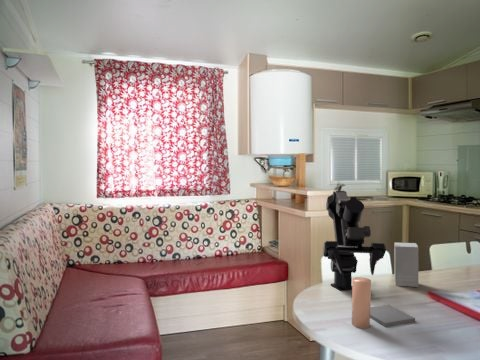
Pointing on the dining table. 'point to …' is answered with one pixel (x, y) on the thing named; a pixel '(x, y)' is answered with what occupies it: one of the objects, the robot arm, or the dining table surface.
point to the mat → (389, 315)
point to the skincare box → (406, 264)
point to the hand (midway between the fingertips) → (357, 273)
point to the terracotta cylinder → (361, 302)
